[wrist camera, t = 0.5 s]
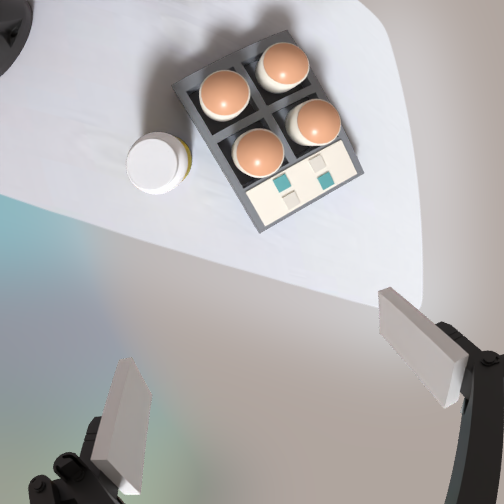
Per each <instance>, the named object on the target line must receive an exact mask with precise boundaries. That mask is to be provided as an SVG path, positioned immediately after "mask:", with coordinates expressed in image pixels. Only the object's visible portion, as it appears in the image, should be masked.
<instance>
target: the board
mask: <svg viewBox="0 0 504 504" xmlns="http://www.w3.org/2000/svg"><path fill="white" fill-rule="evenodd" d="M281 42H286V43H291V44H294V45H296V43H295V41H294V40H293V38H292V37H291V35H290V33H289V32H288V30H285V31H282V32H280V33H277V34H275V35H272V36H270V37H268V38H265V39H263V40H260V41H258V42H256V43H254V44H251V45H249V46H247V47H245V48H242V49H240V50H238V51H236V52H234V53H232V54H230V55H228V56H225V57H223V58H221V59H219V60H217V61H215V62H213V63H211V64H210V65H208V66H206V67H204V68H202V69H200V70H198V71H196V72H194V73H193V74H191V75H189V76H187V77H185V78H184V79H182V80H180V81H178V82H176V83H175V84H173V85H172V87H173V89H174V91H175V93H176V94H177V96H178V98H179V99H180V101H181V102H182V104H183V106H184V107H185V109H186V111H187V112H188V114H189V116H190V117H191V119H192V121H193V122H194V124H195V126H196V127H197V129H198V131H199V132H200V134H201V136H202V137H203V139H204V141H205V142H206V144H207V146H208V148H209V149H210V151H211V153H212V154H213V156H214V158H215V159H216V161H217V163H218V164H219V166H220V168H221V169H222V171H223V173H224V175H225V176H226V178H227V180H228V181H229V183H230V185H231V186H232V188H233V190H234V191H235V193H236V195H237V197H238V198H239V200H240V202H241V203H242V205H243V207H244V209H245V210H246V212H247V214H248V215H249V217H250V219H251V221H252V222H253V224H254V226H255V227H256V229H257V231H258V232H259V234H260V233H261V232H263V231H265V230H267V229H268V228H270V227H272V226H273V225H275V224H277V223H279V222H280V221H282V220H284V219H285V218H287V217H289V216H291V215H292V214H294V213H296V212H298V211H299V210H301V209H303V208H305V207H306V206H308V205H310V204H311V203H313V202H315V201H317V200H318V199H320V198H322V197H324V196H325V195H327V194H329V193H331V192H332V191H334V190H336V189H338V188H339V187H341V186H343V185H345V184H346V183H348V182H350V181H352V180H353V179H355V178H357V177H359V176H360V175H362V174H364V171H363V169H362V167H361V165H360V162H359V160H358V158H357V156H356V154H355V152H354V149H353V147H352V145H351V143H350V141H349V139H348V137H347V135H346V133H345V131H344V129H343V127H342V125H341V128H340V132H339V134H338V136H337V137H336V138H335V140H333V141H332V142H331V143H329V144H326V145H322V146H312V147H310V148H308V149H307V150H305V151H303V152H301V153H299V154H297V155H294V153H293V151H292V150H291V148H290V146H289V144H288V142H287V140H286V139H285V137H284V135H283V133H282V131H281V130H280V128H279V126H278V124H277V122H276V121H275V119H274V117H273V115H272V113H274V112H276V111H278V110H280V109H282V108H284V107H286V106H288V105H290V104H292V103H294V102H296V101H298V100H300V99H302V98H305V97H307V96H308V97H309V99H310V100H311V99H322V100H325V101H327V102H329V100H328V98H327V96H326V94H325V92H324V91H323V89H322V87H321V85H320V83H319V82H318V80H317V78H316V76H315V75H314V73H313V71H312V69H311V68H310V66H309V72H308V75H307V77H306V78H305V79H304V80H303V81H302V82H301V84H302V86H303V89H301V90H299V91H297V92H295V93H293V94H291V95H288V96H286V97H284V98H282V99H280V100H278V101H276V102H274V103H272V104H270V105H268V106H267V105H266V103H265V101H264V100H263V98H262V96H261V95H260V93H259V91H258V90H257V88H256V86H255V85H254V83H253V81H252V80H251V78H250V76H249V75H248V73H247V71H246V70H245V68H244V67H243V66H245V65H247V64H250V63H252V62H254V61H256V60H258V59H260V58H261V56H262V55H263V53H264V52H265V50H266V49H267V48H268V47H270V46H271V45H273V44H276V43H281ZM296 46H297V45H296ZM219 70H230V71H234V72H236V73H238V74H240V75H241V76H243V77H244V78H245V80H246V81H247V83H248V85H249V88H250V99H249V103H250V104H251V106H252V108H253V110H254V111H255V113H253V114H251V115H249V116H247V117H245V118H243V119H241V120H239V121H238V122H236V123H234V124H232V125H230V126H228V127H227V128H225V129H223V130H221V131H220V132H218V133H216V134H214V135H213V136H212V134H211V133H210V131H209V129H208V127H207V126H206V124H205V122H204V121H203V119H202V117H201V116H200V114H199V112H198V111H197V109H196V107H195V106H194V104H193V103H192V101H191V99H190V98H189V96H188V95H190V94H191V93H193V92H195V91H197V90H199V89H200V86H201V84H202V82H203V81H204V79H205V78H206V77H207V76H209V75H210V74H212V73H213V72H216V71H219ZM329 103H330V102H329ZM259 120H260V122H261V123H262V125H263V127H264V129H267V130H270V131H271V132H273V133H275V134H276V135H277V136H278V137H279V138H280V140H281V142H282V144H283V147H284V160H283V163H282V165H281V166H280V168H279V169H278V170H277V171H276V172H275V173H274V174H272V175H270V176H267V177H263V178H254V179H252V180H251V181H249V182H247V183H245V184H244V185H241V184H240V182H239V180H238V178H237V177H236V175H235V173H234V172H233V170H232V168H231V166H230V165H229V163H228V161H227V160H226V158H225V156H224V154H223V153H222V151H221V149H220V148H219V146H218V144H217V143H219V142H220V141H222V140H224V139H226V138H227V137H229V136H231V135H233V134H234V133H236V132H238V131H240V130H242V129H244V128H245V127H247V126H249V125H251V124H253V123H255V122H257V121H259Z"/></svg>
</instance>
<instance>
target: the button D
mask: <svg viewBox="0 0 504 504" xmlns="http://www.w3.org/2000/svg"><path fill="white" fill-rule="evenodd" d="M340 128H341V119H340V116H339V113H338V111H337V110H336V108H335V107H334V106H333V105H332V104H331V103H329V102H327V101H325V100H322V99H311V100H308V101H306V102H304V103H301V104H299V105H297V106H295V107H293V108H292V109H291V110H290V111H289V112H288V114H287V116H286V119H285V129H286V132H287V134H288V136H289V137H290V138H291V140H293V141H294V142H295V143H297V144H299V145H303V146H322V145H326V144H329V143H331V142H332V141H333V140H335V138H336V137H337V136H338V134H339V132H340Z"/></svg>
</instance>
